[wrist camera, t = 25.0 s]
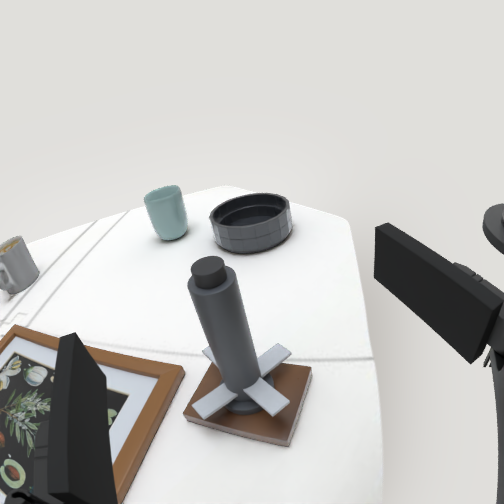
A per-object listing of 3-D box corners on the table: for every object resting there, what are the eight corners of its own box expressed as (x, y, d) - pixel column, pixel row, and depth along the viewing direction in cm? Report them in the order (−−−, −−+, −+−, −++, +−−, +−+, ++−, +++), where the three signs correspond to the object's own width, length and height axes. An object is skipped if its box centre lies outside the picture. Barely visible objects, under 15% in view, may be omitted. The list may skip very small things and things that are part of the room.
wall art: (14, 323, 47) (181, 365, 35) (18, 329, 47) (185, 372, 36) (-73, 439, 22) (68, 594, 10) (-67, 444, 22) (78, 596, 11)
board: (312, 374, 33) (311, 366, 32) (288, 447, 26) (287, 441, 25) (220, 359, 37) (217, 351, 36) (187, 420, 30) (182, 413, 29)
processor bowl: (300, 217, 65) (297, 192, 62) (280, 257, 54) (276, 228, 51) (234, 217, 71) (228, 194, 68) (203, 253, 59) (195, 227, 56)
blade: (254, 337, 37) (224, 216, 29) (325, 388, 29) (319, 254, 21) (176, 390, 32) (115, 273, 24) (238, 460, 24) (177, 349, 16)
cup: (190, 240, 65) (177, 195, 60) (154, 247, 65) (139, 204, 60) (193, 223, 72) (181, 182, 66) (160, 230, 72) (147, 190, 67)
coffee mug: (22, 271, 69) (6, 238, 63) (45, 268, 67) (28, 233, 62) (-6, 303, 57) (-26, 268, 52) (16, 302, 56) (-5, 264, 51)
